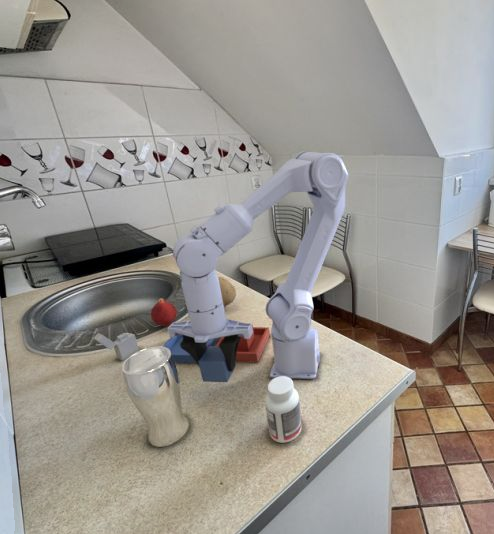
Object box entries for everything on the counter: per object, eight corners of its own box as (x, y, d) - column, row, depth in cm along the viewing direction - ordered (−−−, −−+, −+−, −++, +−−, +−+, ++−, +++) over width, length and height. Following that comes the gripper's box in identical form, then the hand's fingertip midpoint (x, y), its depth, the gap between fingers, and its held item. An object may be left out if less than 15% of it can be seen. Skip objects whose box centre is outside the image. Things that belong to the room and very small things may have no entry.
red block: (254, 339, 77) (252, 323, 75) (248, 351, 73) (246, 335, 71) (236, 339, 77) (233, 323, 76) (229, 351, 73) (225, 334, 71)
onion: (169, 333, 81) (161, 305, 78) (149, 331, 82) (141, 303, 79) (184, 321, 86) (177, 294, 83) (165, 319, 87) (158, 293, 84)
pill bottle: (303, 416, 57) (299, 372, 53) (300, 443, 52) (295, 397, 48) (272, 417, 57) (266, 373, 53) (266, 444, 52) (259, 398, 48)
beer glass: (143, 456, 50) (115, 381, 44) (148, 422, 56) (124, 352, 50) (191, 440, 53) (171, 367, 47) (191, 409, 58) (173, 341, 53)
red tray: (269, 334, 80) (268, 327, 79) (257, 362, 70) (256, 353, 69) (229, 334, 80) (228, 326, 79) (212, 360, 71) (210, 352, 70)
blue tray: (221, 336, 79) (219, 328, 79) (202, 363, 70) (200, 355, 69) (181, 335, 80) (179, 327, 79) (157, 362, 71) (155, 354, 70)
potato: (233, 298, 97) (228, 268, 93) (242, 311, 90) (237, 279, 86) (202, 307, 93) (195, 275, 89) (208, 321, 86) (201, 287, 82)
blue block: (236, 365, 63) (232, 346, 61) (227, 382, 58) (223, 362, 57) (213, 365, 63) (209, 345, 61) (202, 381, 59) (197, 361, 57)
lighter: (135, 348, 76) (125, 319, 72) (139, 350, 75) (130, 320, 72) (103, 366, 70) (91, 335, 67) (108, 368, 69) (96, 338, 66)
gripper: (150, 315, 52) (169, 381, 57) (238, 317, 51) (249, 383, 56) (173, 295, 58) (189, 356, 63) (252, 295, 57) (261, 357, 62)
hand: (218, 367), depth 60 cm, fingers closed on blue block, 4 cm apart
